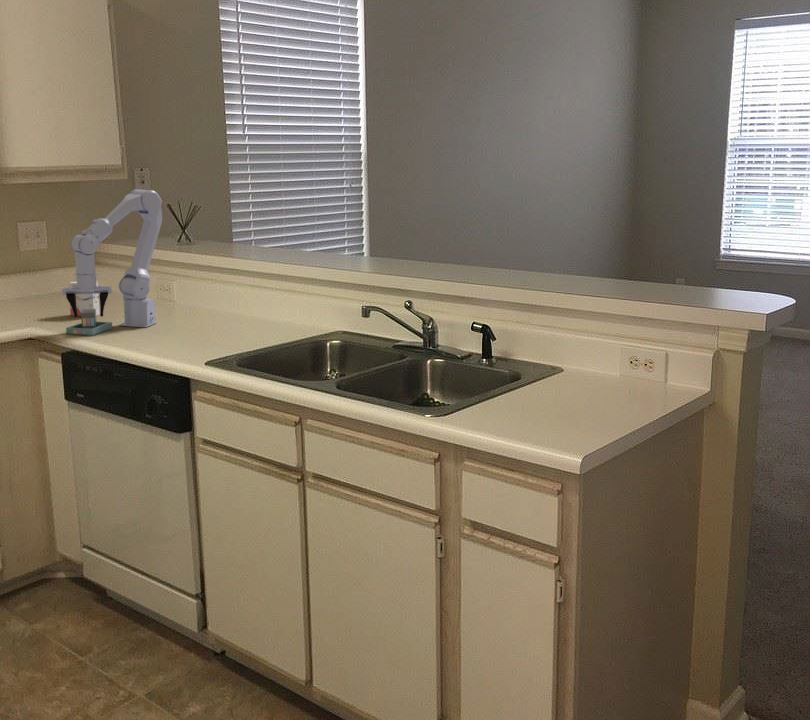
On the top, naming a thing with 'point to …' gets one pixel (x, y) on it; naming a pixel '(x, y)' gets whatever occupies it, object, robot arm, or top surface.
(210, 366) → the top surface
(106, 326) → the service tray
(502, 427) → the top surface
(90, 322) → the block
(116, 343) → the top surface
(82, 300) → the ink cartridge box
